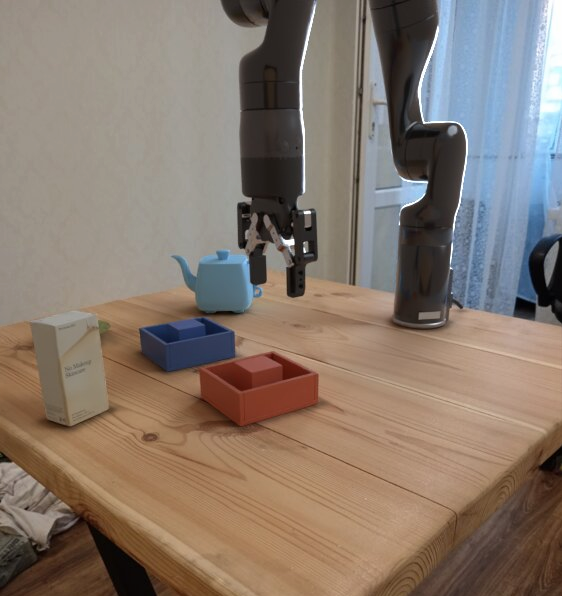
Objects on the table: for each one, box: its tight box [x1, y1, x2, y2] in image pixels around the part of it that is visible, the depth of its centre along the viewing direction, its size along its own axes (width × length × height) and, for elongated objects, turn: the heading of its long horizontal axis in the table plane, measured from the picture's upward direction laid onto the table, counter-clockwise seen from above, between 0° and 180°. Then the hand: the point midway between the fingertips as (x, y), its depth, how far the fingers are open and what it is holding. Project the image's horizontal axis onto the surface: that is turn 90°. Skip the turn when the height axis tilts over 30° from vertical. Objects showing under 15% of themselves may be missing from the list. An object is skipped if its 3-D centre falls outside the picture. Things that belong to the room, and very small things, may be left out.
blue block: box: [166, 318, 206, 343], centre depth 88 cm, size 4×4×4 cm
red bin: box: [198, 350, 320, 427], centre depth 72 cm, size 11×10×4 cm
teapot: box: [169, 248, 264, 314], centre depth 113 cm, size 12×18×12 cm
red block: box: [234, 356, 282, 391], centre depth 72 cm, size 4×4×4 cm
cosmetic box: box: [29, 309, 110, 427], centre depth 67 cm, size 6×4×12 cm
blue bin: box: [138, 316, 236, 373], centre depth 88 cm, size 11×10×4 cm
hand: (276, 290), depth 73 cm, fingers open, 8 cm apart
